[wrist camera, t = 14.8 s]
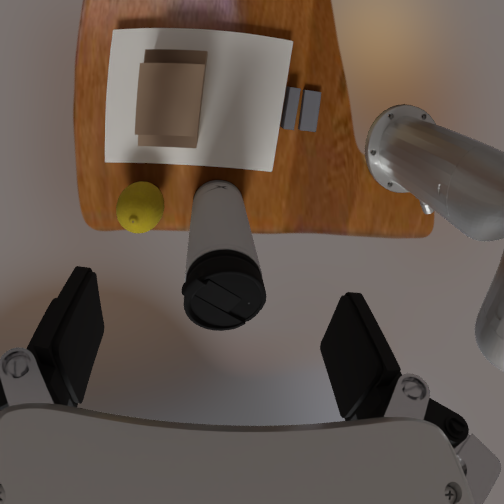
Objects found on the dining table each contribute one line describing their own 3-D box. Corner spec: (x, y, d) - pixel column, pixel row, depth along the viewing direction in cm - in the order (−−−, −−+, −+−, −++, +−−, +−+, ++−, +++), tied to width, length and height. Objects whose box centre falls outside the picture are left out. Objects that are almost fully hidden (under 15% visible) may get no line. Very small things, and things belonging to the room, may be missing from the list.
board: (290, 42, 30) (293, 41, 29) (269, 168, 38) (271, 171, 37) (116, 31, 27) (113, 29, 25) (108, 159, 35) (105, 162, 33)
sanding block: (207, 54, 29) (207, 49, 24) (198, 140, 34) (195, 152, 29) (153, 52, 28) (141, 47, 23) (146, 138, 33) (134, 149, 28)
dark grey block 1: (300, 88, 32) (290, 86, 31) (293, 130, 34) (283, 128, 34) (296, 88, 33) (286, 86, 33) (289, 127, 36) (280, 125, 36)
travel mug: (212, 167, 37) (215, 254, 20) (252, 199, 40) (286, 302, 23) (181, 204, 39) (162, 312, 22) (220, 233, 42) (231, 349, 25)
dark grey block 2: (305, 89, 33) (302, 89, 34) (299, 130, 35) (297, 128, 36) (321, 92, 33) (318, 91, 34) (315, 132, 35) (312, 130, 36)
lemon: (131, 168, 36) (113, 190, 29) (173, 180, 37) (165, 205, 30) (121, 207, 38) (104, 237, 31) (161, 219, 40) (152, 250, 33)
